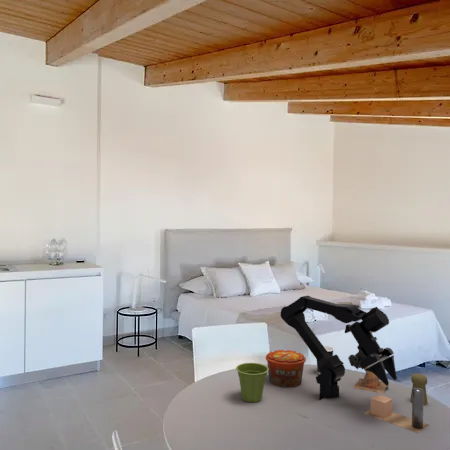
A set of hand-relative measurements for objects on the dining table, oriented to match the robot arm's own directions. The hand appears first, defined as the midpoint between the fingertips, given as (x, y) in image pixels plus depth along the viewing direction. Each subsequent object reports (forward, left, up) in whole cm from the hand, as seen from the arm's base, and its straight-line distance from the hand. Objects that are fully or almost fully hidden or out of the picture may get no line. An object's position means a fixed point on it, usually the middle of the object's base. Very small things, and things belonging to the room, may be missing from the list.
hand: (391, 382), depth 145 cm
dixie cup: (-22, +38, -13) cm, 46 cm away
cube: (-3, +1, -11) cm, 12 cm away
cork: (+11, +14, -13) cm, 22 cm away
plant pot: (-47, +5, -13) cm, 49 cm away
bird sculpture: (-4, +25, -13) cm, 28 cm away
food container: (-37, +25, -13) cm, 47 cm away
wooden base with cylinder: (+1, -2, -12) cm, 13 cm away
